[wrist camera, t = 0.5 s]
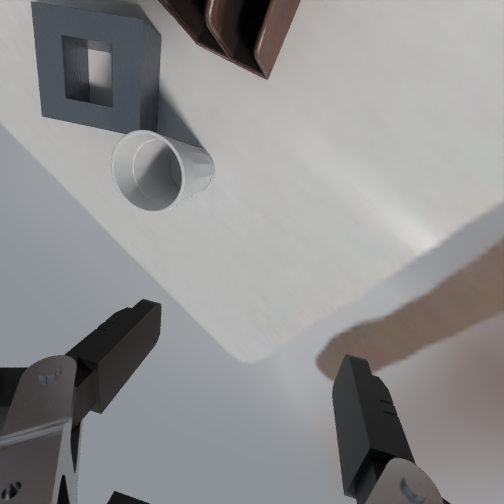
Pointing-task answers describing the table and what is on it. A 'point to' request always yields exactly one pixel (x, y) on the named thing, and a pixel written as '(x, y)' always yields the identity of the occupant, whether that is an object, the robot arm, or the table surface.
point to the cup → (159, 171)
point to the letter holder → (237, 28)
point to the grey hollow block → (76, 67)
